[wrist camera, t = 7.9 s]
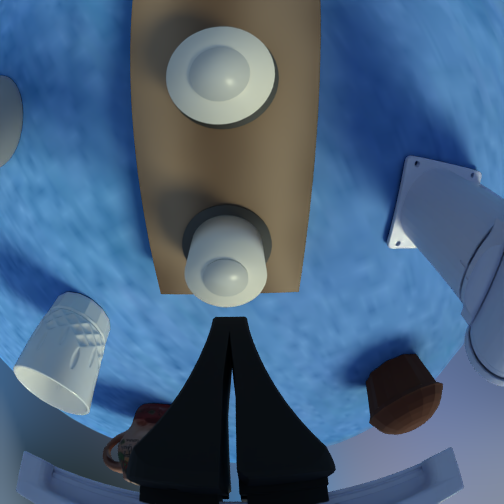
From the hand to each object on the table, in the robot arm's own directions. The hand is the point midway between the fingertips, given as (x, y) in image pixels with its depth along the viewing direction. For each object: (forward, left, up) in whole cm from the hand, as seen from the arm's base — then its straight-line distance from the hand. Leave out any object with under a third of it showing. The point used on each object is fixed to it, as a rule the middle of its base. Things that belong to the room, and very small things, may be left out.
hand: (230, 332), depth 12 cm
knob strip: (0, -10, -10) cm, 14 cm away
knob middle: (0, -10, -7) cm, 12 cm away
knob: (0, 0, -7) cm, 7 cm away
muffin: (-23, +24, -10) cm, 35 cm away
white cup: (+16, +10, -10) cm, 22 cm away
